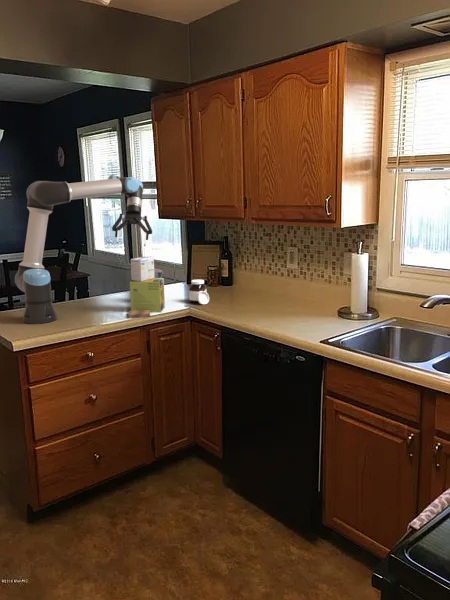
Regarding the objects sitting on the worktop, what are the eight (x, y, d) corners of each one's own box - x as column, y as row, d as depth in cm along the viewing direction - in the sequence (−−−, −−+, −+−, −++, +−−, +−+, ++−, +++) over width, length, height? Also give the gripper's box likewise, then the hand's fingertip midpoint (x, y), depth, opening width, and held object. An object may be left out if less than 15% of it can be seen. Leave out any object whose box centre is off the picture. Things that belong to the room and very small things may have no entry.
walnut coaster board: (128, 317, 250) (128, 314, 250) (129, 313, 258) (128, 310, 257) (149, 316, 251) (149, 313, 251) (149, 312, 259) (149, 309, 259)
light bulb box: (144, 277, 269) (143, 256, 267) (155, 278, 266) (154, 257, 264) (130, 280, 260) (129, 258, 258) (141, 281, 257) (140, 259, 255)
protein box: (161, 312, 260) (160, 281, 256) (130, 312, 261) (129, 281, 258) (165, 307, 270) (164, 277, 267) (135, 307, 271) (134, 277, 268)
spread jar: (196, 299, 288) (195, 278, 286) (214, 301, 283) (214, 280, 281) (185, 304, 278) (184, 282, 275) (204, 306, 273) (203, 283, 270)
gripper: (157, 213, 279) (155, 249, 271) (110, 209, 275) (106, 245, 267) (158, 206, 272) (156, 242, 264) (109, 201, 268) (105, 238, 261)
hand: (131, 244), depth 266 cm, fingers open, 13 cm apart
